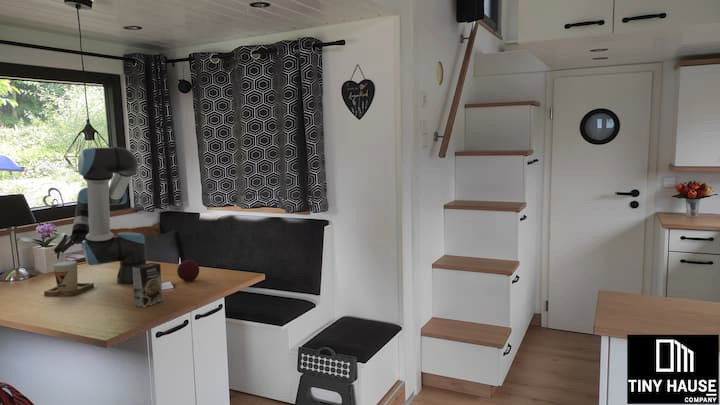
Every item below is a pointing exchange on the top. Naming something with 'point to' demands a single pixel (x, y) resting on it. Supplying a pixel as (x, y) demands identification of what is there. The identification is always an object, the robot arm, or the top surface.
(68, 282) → the coffee cup
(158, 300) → the coffee box
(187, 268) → the decorative ball
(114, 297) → the top surface
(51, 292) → the coaster tray
